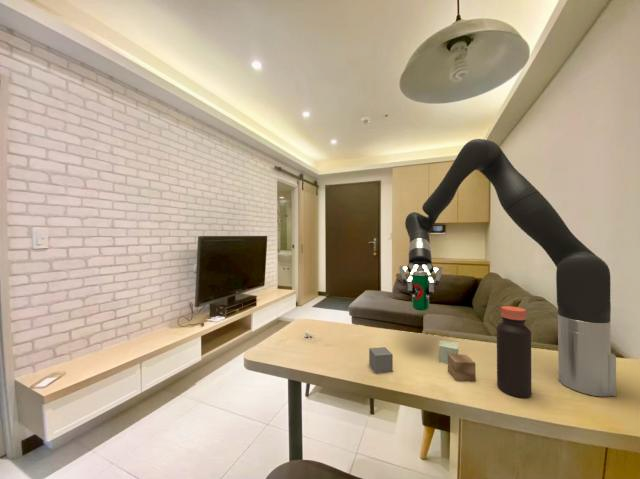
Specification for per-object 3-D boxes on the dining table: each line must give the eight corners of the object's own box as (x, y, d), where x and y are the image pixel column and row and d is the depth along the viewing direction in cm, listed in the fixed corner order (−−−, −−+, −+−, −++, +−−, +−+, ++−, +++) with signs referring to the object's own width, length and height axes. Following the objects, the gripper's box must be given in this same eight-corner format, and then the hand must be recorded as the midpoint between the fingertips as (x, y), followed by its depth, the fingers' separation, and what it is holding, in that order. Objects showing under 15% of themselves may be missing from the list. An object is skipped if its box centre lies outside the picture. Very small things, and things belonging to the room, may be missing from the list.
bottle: (538, 394, 61) (537, 310, 61) (520, 401, 59) (520, 313, 59) (507, 380, 68) (507, 304, 68) (490, 386, 65) (490, 306, 65)
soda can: (430, 311, 80) (430, 272, 80) (413, 310, 81) (413, 272, 81) (427, 307, 85) (427, 270, 85) (411, 306, 86) (410, 270, 86)
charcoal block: (385, 363, 77) (385, 347, 77) (392, 372, 72) (392, 354, 72) (369, 365, 76) (369, 348, 76) (375, 373, 71) (375, 355, 71)
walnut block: (466, 372, 72) (466, 354, 72) (475, 382, 67) (475, 362, 67) (447, 371, 72) (447, 353, 73) (455, 381, 68) (455, 362, 68)
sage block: (458, 359, 80) (458, 343, 80) (457, 366, 75) (457, 349, 76) (440, 355, 82) (440, 340, 82) (439, 362, 78) (438, 345, 78)
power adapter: (309, 337, 100) (309, 328, 100) (313, 338, 98) (313, 330, 98) (303, 339, 98) (303, 330, 98) (308, 341, 96) (308, 332, 96)
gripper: (398, 246, 92) (396, 285, 81) (442, 246, 87) (446, 288, 76) (399, 260, 97) (397, 299, 86) (441, 261, 92) (445, 302, 81)
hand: (420, 293), depth 81 cm, fingers closed on soda can, 5 cm apart
